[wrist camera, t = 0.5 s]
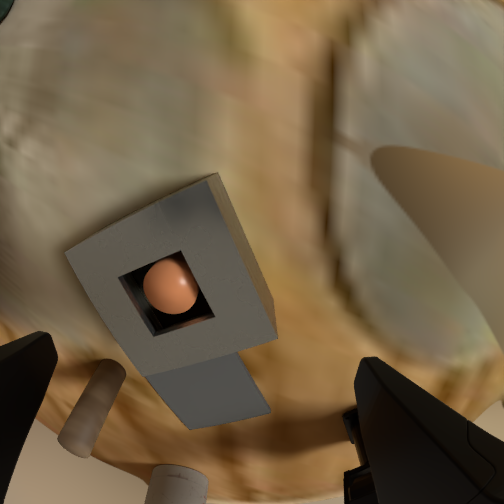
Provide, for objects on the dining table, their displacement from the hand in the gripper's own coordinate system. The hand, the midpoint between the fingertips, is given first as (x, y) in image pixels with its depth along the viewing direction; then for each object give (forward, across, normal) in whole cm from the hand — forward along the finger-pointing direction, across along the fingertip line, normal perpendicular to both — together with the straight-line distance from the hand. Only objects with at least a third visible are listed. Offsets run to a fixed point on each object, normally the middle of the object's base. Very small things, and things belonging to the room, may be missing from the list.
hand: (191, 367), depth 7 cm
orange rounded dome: (+12, +3, +3) cm, 13 cm away
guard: (+14, +3, +3) cm, 15 cm away
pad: (+14, +2, +15) cm, 21 cm away
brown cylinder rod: (+14, +11, +14) cm, 23 cm away
